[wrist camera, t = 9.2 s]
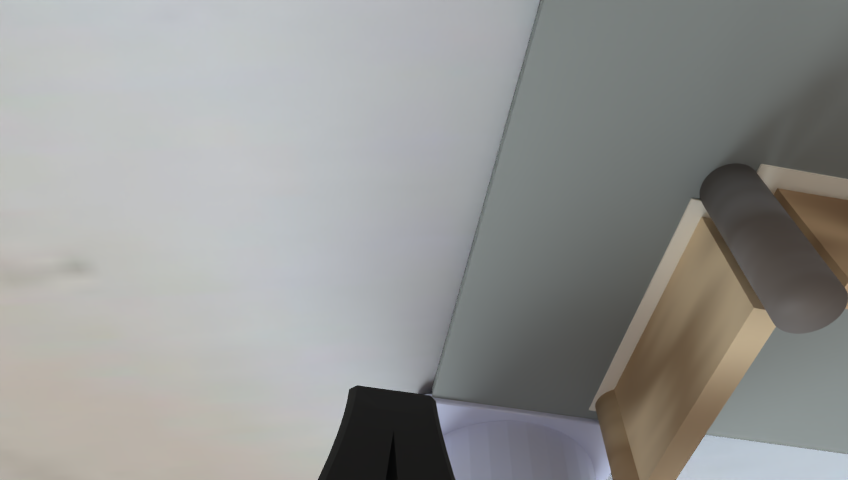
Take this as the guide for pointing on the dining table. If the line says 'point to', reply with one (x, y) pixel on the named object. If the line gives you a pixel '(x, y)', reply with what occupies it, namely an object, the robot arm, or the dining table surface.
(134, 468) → the dining table surface
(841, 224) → the fence gate
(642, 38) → the board
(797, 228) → the fence base
